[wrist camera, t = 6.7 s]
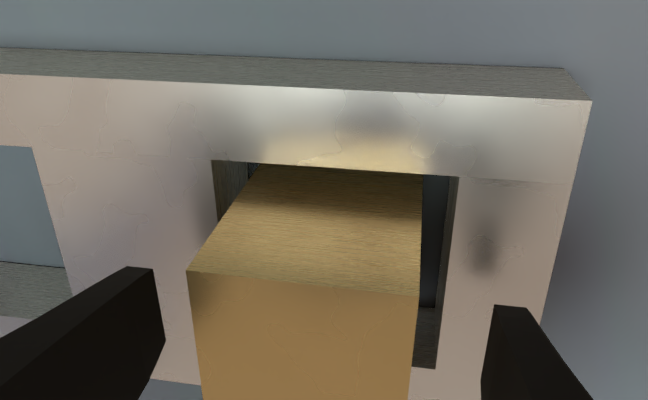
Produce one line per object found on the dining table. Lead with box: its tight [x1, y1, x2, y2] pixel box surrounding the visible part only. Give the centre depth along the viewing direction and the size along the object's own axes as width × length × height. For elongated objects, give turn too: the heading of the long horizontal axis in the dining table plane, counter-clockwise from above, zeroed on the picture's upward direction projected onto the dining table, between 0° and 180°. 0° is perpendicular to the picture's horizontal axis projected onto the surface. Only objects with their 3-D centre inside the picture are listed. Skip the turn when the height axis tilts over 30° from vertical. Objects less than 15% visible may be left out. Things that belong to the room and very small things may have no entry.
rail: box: [0, 48, 592, 400], centre depth 15 cm, size 9×20×2 cm, turn 90°
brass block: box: [186, 163, 423, 400], centre depth 13 cm, size 4×4×6 cm
